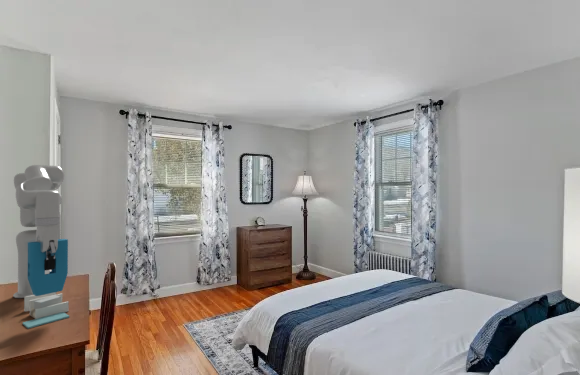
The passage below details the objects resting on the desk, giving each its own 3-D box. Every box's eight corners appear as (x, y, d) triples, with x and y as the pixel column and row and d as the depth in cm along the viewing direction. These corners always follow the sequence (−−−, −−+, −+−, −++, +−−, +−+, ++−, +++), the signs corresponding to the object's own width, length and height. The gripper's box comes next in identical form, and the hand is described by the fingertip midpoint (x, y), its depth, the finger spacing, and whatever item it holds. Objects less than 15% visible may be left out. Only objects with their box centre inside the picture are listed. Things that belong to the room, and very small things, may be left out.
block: (30, 297, 115) (31, 243, 116) (26, 295, 118) (27, 242, 119) (68, 289, 125) (68, 239, 126) (63, 287, 128) (64, 238, 129)
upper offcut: (34, 308, 125) (34, 301, 125) (54, 302, 133) (54, 295, 133) (40, 310, 124) (40, 302, 124) (61, 303, 132) (61, 296, 132)
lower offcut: (30, 316, 126) (31, 308, 126) (59, 309, 134) (59, 301, 134) (35, 319, 123) (35, 310, 124) (64, 311, 132) (64, 303, 132)
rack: (24, 311, 131) (24, 296, 131) (55, 303, 140) (55, 290, 140) (35, 319, 122) (35, 304, 122) (68, 311, 131) (68, 297, 131)
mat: (22, 323, 118) (22, 322, 118) (62, 313, 129) (62, 311, 129) (28, 328, 114) (28, 327, 114) (69, 317, 124) (69, 315, 124)
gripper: (28, 221, 124) (28, 267, 124) (43, 224, 114) (42, 273, 114) (51, 220, 130) (51, 264, 130) (66, 222, 120) (66, 269, 120)
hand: (47, 268), depth 122 cm, fingers closed on block, 5 cm apart
